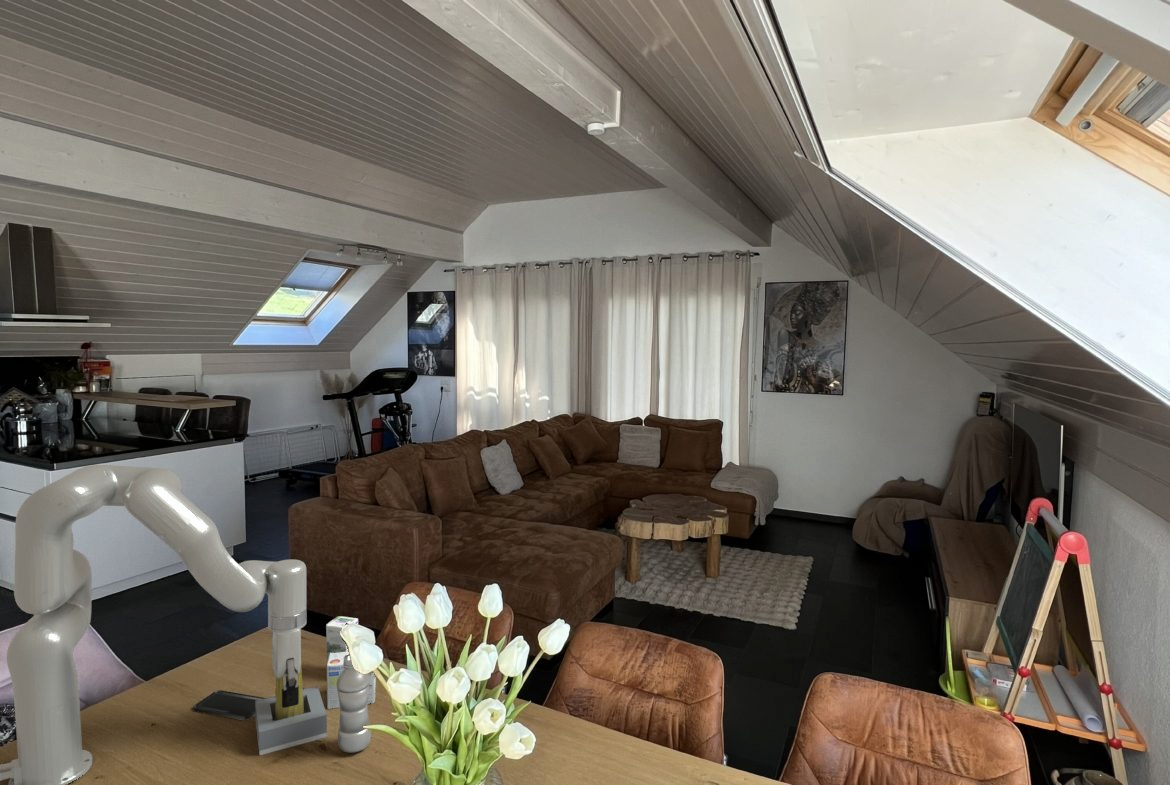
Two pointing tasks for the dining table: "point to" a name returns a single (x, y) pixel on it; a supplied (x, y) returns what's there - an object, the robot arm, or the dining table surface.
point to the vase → (292, 710)
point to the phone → (228, 705)
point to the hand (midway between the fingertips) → (287, 694)
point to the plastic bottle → (353, 708)
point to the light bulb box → (332, 675)
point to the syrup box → (336, 635)
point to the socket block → (290, 723)
